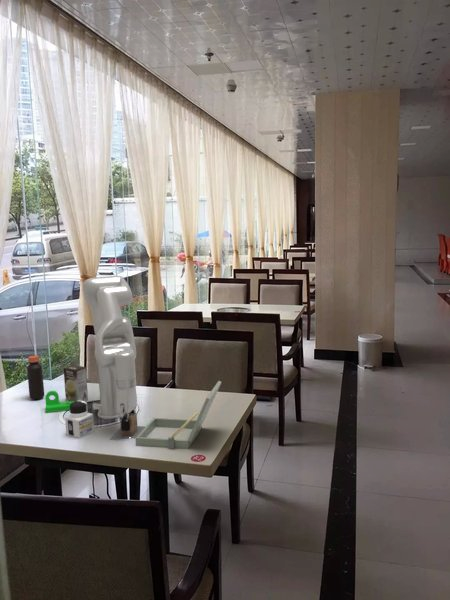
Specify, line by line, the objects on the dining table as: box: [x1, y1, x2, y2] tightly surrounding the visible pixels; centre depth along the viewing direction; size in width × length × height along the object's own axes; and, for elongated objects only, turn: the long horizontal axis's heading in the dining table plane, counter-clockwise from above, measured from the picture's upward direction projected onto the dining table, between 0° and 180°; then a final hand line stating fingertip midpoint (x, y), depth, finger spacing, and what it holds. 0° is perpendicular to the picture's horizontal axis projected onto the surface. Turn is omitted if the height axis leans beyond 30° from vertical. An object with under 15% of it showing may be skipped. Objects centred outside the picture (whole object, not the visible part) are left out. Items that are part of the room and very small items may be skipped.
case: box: [134, 380, 222, 450], centre depth 199 cm, size 29×21×20 cm
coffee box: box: [63, 364, 89, 402], centre depth 246 cm, size 9×6×16 cm
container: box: [64, 401, 95, 439], centre depth 207 cm, size 8×8×13 cm
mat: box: [108, 425, 146, 441], centre depth 206 cm, size 11×14×1 cm
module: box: [119, 413, 138, 436], centre depth 206 cm, size 5×5×8 cm
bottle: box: [26, 355, 45, 400], centre depth 253 cm, size 7×7×20 cm
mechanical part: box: [44, 390, 74, 414], centre depth 237 cm, size 12×6×8 cm, turn 104°
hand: (128, 426), depth 206 cm, fingers open, 5 cm apart
